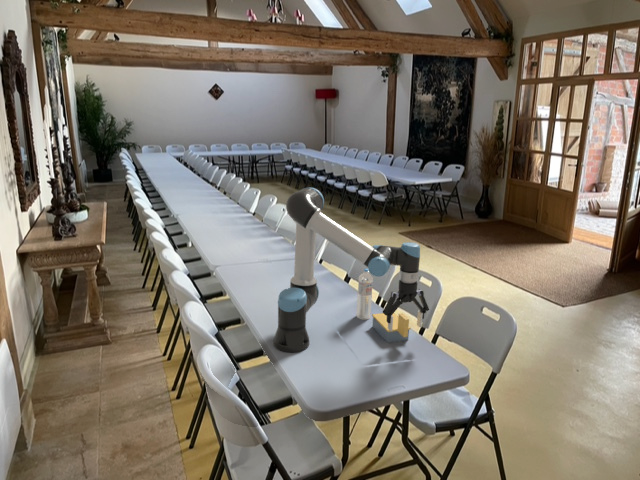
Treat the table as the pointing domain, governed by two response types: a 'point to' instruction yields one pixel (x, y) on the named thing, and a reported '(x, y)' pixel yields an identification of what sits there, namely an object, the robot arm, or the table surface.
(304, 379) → the table surface
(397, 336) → the tub
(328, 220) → the robot arm
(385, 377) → the table surface
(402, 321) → the lid
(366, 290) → the water bottle
